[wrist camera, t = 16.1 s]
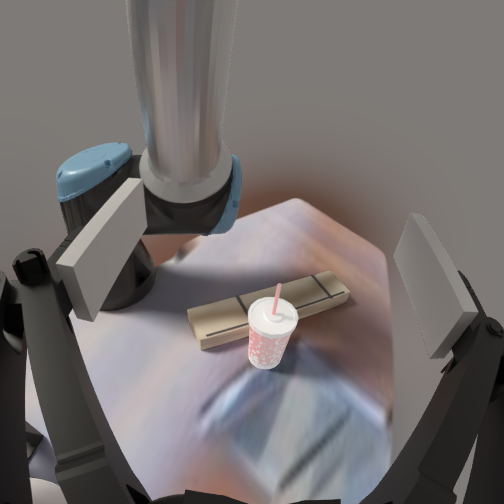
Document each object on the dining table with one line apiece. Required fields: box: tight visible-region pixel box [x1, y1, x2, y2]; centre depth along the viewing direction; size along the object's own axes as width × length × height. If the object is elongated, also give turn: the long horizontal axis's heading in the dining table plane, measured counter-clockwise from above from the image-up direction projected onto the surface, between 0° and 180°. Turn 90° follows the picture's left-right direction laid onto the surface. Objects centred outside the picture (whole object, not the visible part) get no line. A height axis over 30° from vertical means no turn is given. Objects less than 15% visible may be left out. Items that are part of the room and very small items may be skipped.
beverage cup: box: [248, 283, 298, 369], centre depth 39 cm, size 6×6×14 cm
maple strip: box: [187, 270, 350, 350], centre depth 49 cm, size 6×26×3 cm, turn 115°
